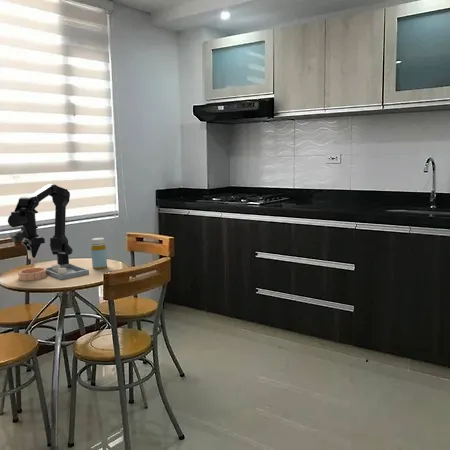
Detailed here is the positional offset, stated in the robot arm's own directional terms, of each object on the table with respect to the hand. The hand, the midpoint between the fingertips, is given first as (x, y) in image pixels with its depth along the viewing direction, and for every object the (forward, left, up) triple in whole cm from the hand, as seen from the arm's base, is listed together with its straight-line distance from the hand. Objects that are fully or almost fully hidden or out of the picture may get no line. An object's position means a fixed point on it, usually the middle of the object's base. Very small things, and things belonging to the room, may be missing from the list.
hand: (32, 257), depth 222 cm
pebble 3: (+13, +8, -9) cm, 18 cm away
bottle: (+9, +29, -10) cm, 32 cm away
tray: (+7, +12, -9) cm, 17 cm away
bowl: (+2, -1, -10) cm, 10 cm away
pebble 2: (+4, +9, -9) cm, 14 cm away
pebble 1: (0, 0, -1) cm, 1 cm away
